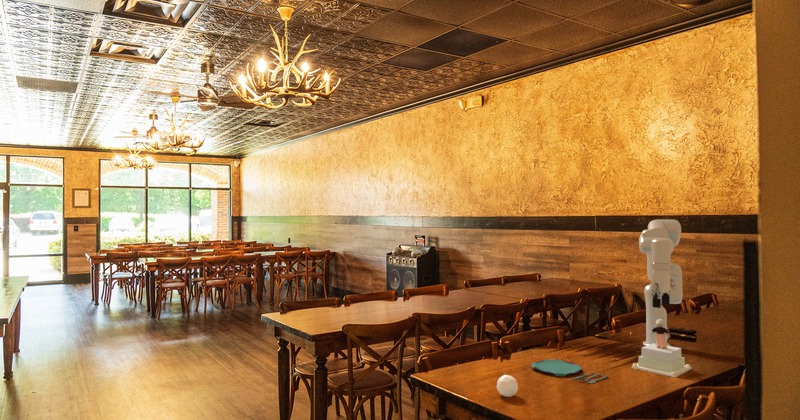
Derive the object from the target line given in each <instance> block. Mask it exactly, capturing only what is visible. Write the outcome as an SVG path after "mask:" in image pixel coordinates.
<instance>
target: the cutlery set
mask: <svg viewBox="0 0 800 420" xmlns="http://www.w3.org/2000/svg"><path fill="white" fill-rule="evenodd" d="M533 368H534V369H535V370H536V371H539V372H541V373H544V374H549V375H555V376H556V377H565V376H573V375H576V374H578V373H580V372H583V371H584V370H583V368H582V367H581V365H579V364H575V363H573V362H570V361H565V360H561V359H544V360H539V361H535V362H533V363H531V369H532V370H534V369H533ZM592 374H593V375H592ZM589 375H592V376H590V377H587V376H589ZM601 375H602V373H600V372H599V373H596V374H595V372H594V371H592V372H590V373H585V374H582V375H581V376H580V375H579V376H576V377H573V378H572V381H575V380H577V379H578V382H581V383H585V384H586V385H588V384H587V383H591V384H590V385H593V384H596V383H597V382H599V380H600V381H602V379H603V380H605V379H608V378H609V375H607V374H606V375H604V376H603V377H600V378H598V379H595V378H596V377H598V376H601ZM583 379H586V380H584V381H583ZM590 379H591V380H590ZM589 380H590V381H589ZM592 383H593V384H592Z"/></svg>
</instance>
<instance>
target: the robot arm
mask: <svg viewBox="0 0 800 420" xmlns="http://www.w3.org/2000/svg"><path fill="white" fill-rule="evenodd" d="M681 235H682V225H681V224H680V221H678V220H677V219H661V218H659V219H653V220H651V221H649V223H648V225H647V229H644V230H642V232H641V234H640V236H639V239H638V248H639V251H640V253H642V254H644V255H646V273H647V274H646V275H647V278H648V280H650V284H647V285H646V286H645V287H644V289H643V291H644V293H643V294H644V299H645V310H646V311H645V313H646V314H645V316H646V317H645V320H646V323H645V329H646V330H645V334H646V335H645V339H646V340H645V341H642V344H643V346H647V345H650V344H652V343H655V344H656V333H657V332H654V333H653V335H651V334H650V333H651V331H652V329H653V328H655V327H659V326H658V325H657V324H656V321H657V320H658V319H663V320H664V325H663V327H664V328H665V329H667V330H668V326H667V325H668V320H667V319H668V318H667V317H668V314H667V309H666V308H665V307H664V306H665V305H666V306H670V305H671V304H673V305H678V304H681V303H682V301H683V270H682V268H681V265H679V264H678V263H672V260H671V259H672V258H671V256H672V253H673V252H674V251H675V246H677V245H679V243H680V242H681V241H680V240H681ZM664 334H665V338H666V346H671V344H670V343H669V342H667V341H668V339H669V337H668V336H667V334H666V333H665V332H664Z"/></svg>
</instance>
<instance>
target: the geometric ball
mask: <svg viewBox="0 0 800 420" xmlns="http://www.w3.org/2000/svg"><path fill="white" fill-rule="evenodd" d="M518 387H519V384H518V382H517V379H516V378H514V376H512V375H508V374H504V375H502V376H500V377H499V378H498V380H497V382H496V389H497V391H498V393H499V394H500V395H501V396H503V397H504V398H506V397H507V398H511V397H513V396H514V395H516V394H517V391H518V390H519V389H518Z"/></svg>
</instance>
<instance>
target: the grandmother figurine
mask: <svg viewBox="0 0 800 420" xmlns="http://www.w3.org/2000/svg"><path fill="white" fill-rule="evenodd" d="M656 324H657V325H658V326H659V327H655V328H653V329H652V331H651V333H650V334H651V335H653V333H654V332H657V333H656V348H661V346H663V347H662V349H667V347H666V338H665V334H664V332H665V333H666V334H667V337H668V338H671V335H670V332H669V331H668V328H667V329H665V328H664V327H663V325H664V320H663V319H658V320H657V321H656Z"/></svg>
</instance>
